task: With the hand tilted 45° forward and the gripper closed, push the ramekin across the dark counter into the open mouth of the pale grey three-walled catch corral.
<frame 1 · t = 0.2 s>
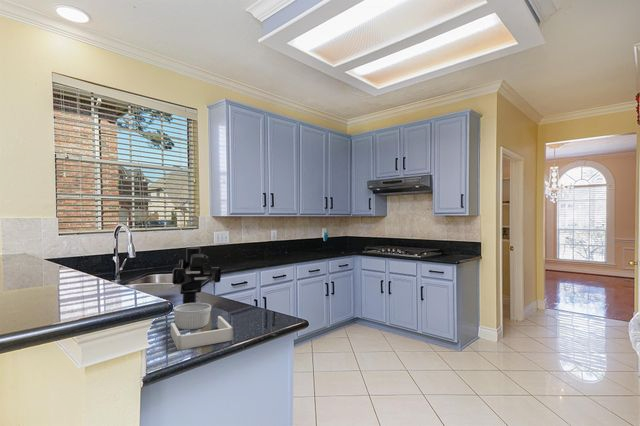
hand: (201, 279, 129), 16 cm above the counter, tool horizontal, fingers open, 9 cm apart
ramekin: (192, 325, 124), on the counter
catch corral: (201, 337, 112), on the counter
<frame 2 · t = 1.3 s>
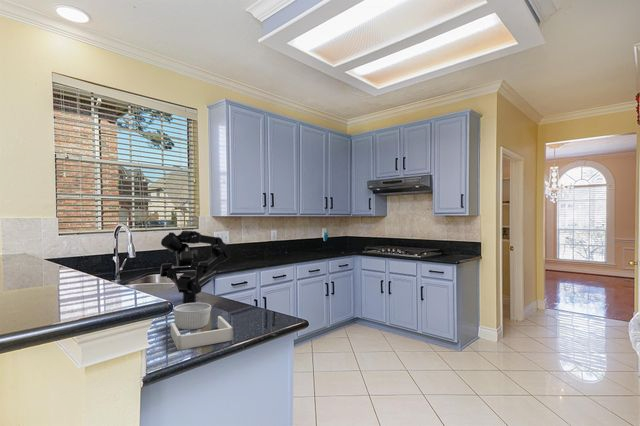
hand: (187, 285, 135), 13 cm above the counter, tool tilted 45°, fingers open, 7 cm apart
nothing on the counter moved.
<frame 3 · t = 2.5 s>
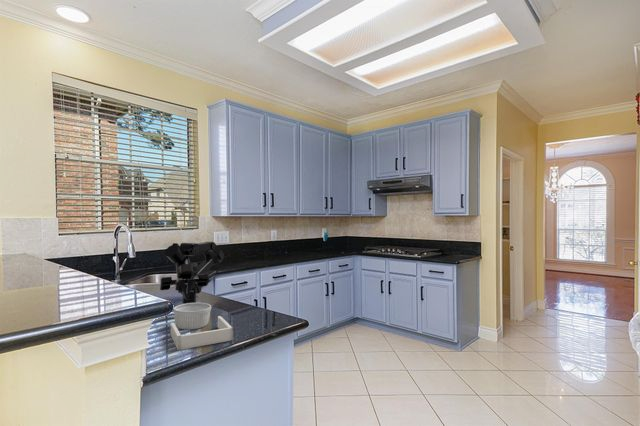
hand: (187, 299, 133), 7 cm above the counter, tool tilted 45°, fingers closed
nothing on the counter moved.
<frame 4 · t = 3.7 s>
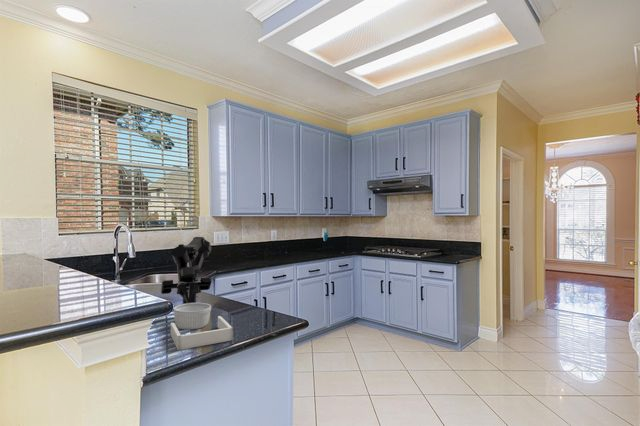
hand: (188, 303, 130), 7 cm above the counter, tool tilted 45°, fingers closed, pressing on ramekin
ramekin: (192, 325, 124), on the counter, touching gripper
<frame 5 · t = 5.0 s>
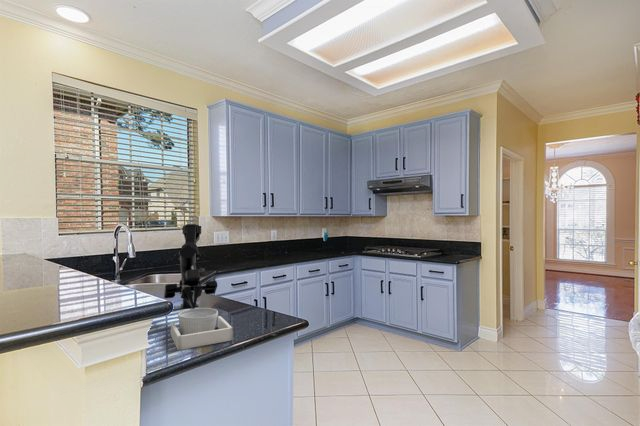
hand: (193, 308, 122), 7 cm above the counter, tool tilted 45°, fingers closed, pressing on ramekin
ramekin: (198, 332, 117), on the counter, touching gripper
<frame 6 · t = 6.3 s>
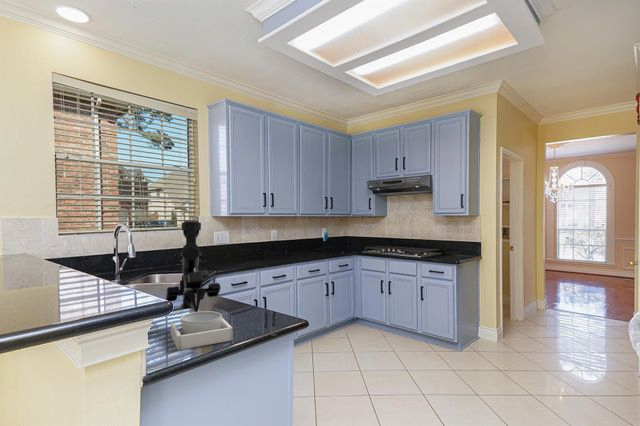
hand: (196, 311, 118), 7 cm above the counter, tool tilted 45°, fingers closed
ramekin: (201, 337, 113), on the counter
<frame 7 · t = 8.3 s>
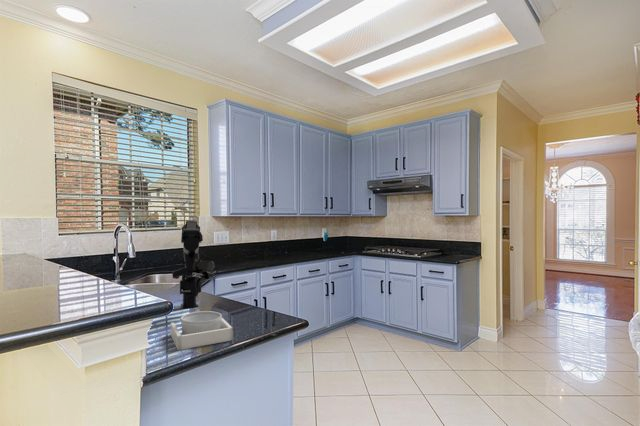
hand: (195, 296, 131), 9 cm above the counter, tool tilted 25°, fingers closed
nothing on the counter moved.
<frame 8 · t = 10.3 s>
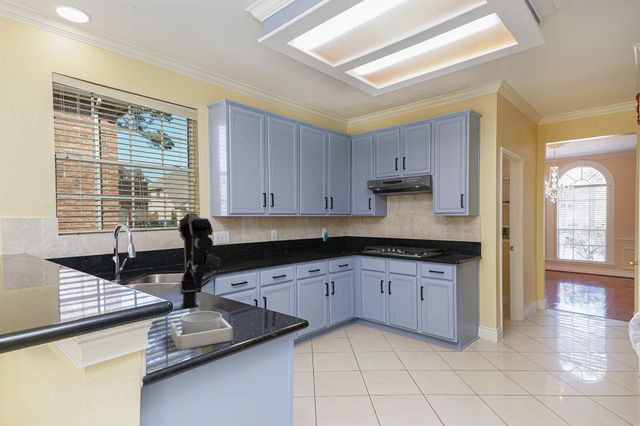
hand: (198, 287, 135), 12 cm above the counter, tool pointing down, fingers closed
nothing on the counter moved.
at the end: ramekin 1.9 cm off-centre on the catch corral, point 0.0 cm above the catch corral's base; ramekin tilted 0°; ramekin moved 13.7 cm from its start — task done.
